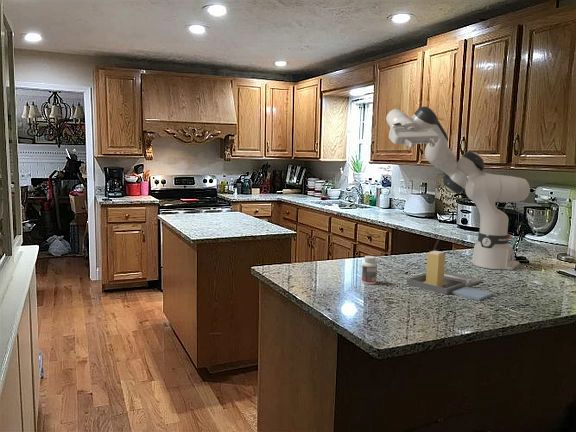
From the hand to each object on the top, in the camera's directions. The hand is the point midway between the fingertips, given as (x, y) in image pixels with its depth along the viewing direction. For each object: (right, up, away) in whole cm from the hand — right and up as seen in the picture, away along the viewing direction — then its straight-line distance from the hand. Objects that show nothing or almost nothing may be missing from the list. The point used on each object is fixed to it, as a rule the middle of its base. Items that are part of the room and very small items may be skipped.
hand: (423, 145), depth 192 cm
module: (-1, -54, -19) cm, 57 cm away
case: (+4, -54, -15) cm, 56 cm away
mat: (+9, -56, -28) cm, 63 cm away
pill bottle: (-25, -53, -17) cm, 61 cm away
